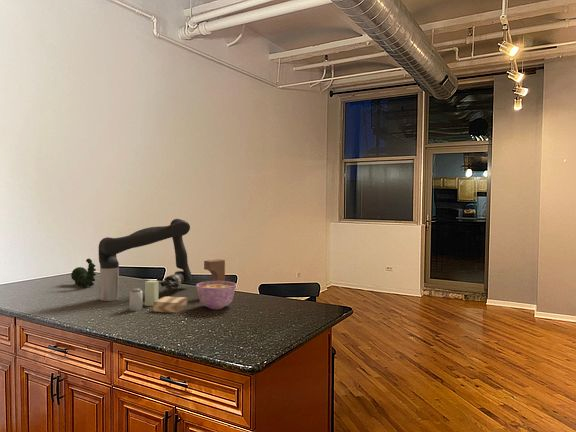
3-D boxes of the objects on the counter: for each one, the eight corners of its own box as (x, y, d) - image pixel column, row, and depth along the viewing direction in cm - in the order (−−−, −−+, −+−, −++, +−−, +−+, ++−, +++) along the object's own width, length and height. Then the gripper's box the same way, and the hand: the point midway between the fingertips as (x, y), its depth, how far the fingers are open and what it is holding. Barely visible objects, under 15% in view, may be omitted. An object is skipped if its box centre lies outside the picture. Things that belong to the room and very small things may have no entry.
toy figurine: (99, 289, 264) (81, 281, 280) (100, 259, 262) (82, 252, 278) (83, 292, 257) (66, 283, 273) (85, 261, 255) (67, 253, 271)
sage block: (144, 305, 218) (145, 282, 218) (149, 303, 223) (149, 280, 223) (154, 305, 217) (154, 282, 217) (158, 303, 222) (158, 280, 222)
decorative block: (209, 297, 238) (209, 261, 238) (203, 296, 242) (203, 260, 242) (225, 294, 246) (225, 260, 245) (219, 293, 250) (219, 259, 249)
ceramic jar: (127, 310, 207) (127, 290, 207) (133, 307, 213) (133, 287, 213) (139, 311, 206) (139, 290, 206) (144, 308, 212) (144, 288, 212)
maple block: (153, 311, 207) (153, 301, 207) (164, 306, 219) (164, 296, 219) (177, 313, 205) (177, 302, 205) (187, 307, 217) (187, 297, 216)
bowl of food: (220, 300, 230) (220, 279, 230) (244, 307, 216) (244, 284, 216) (188, 306, 216) (188, 284, 216) (210, 314, 202) (210, 290, 202)
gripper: (160, 274, 248) (148, 279, 232) (184, 275, 246) (173, 280, 230) (160, 287, 248) (148, 293, 232) (184, 288, 246) (173, 294, 230)
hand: (160, 286), depth 231 cm, fingers open, 8 cm apart
